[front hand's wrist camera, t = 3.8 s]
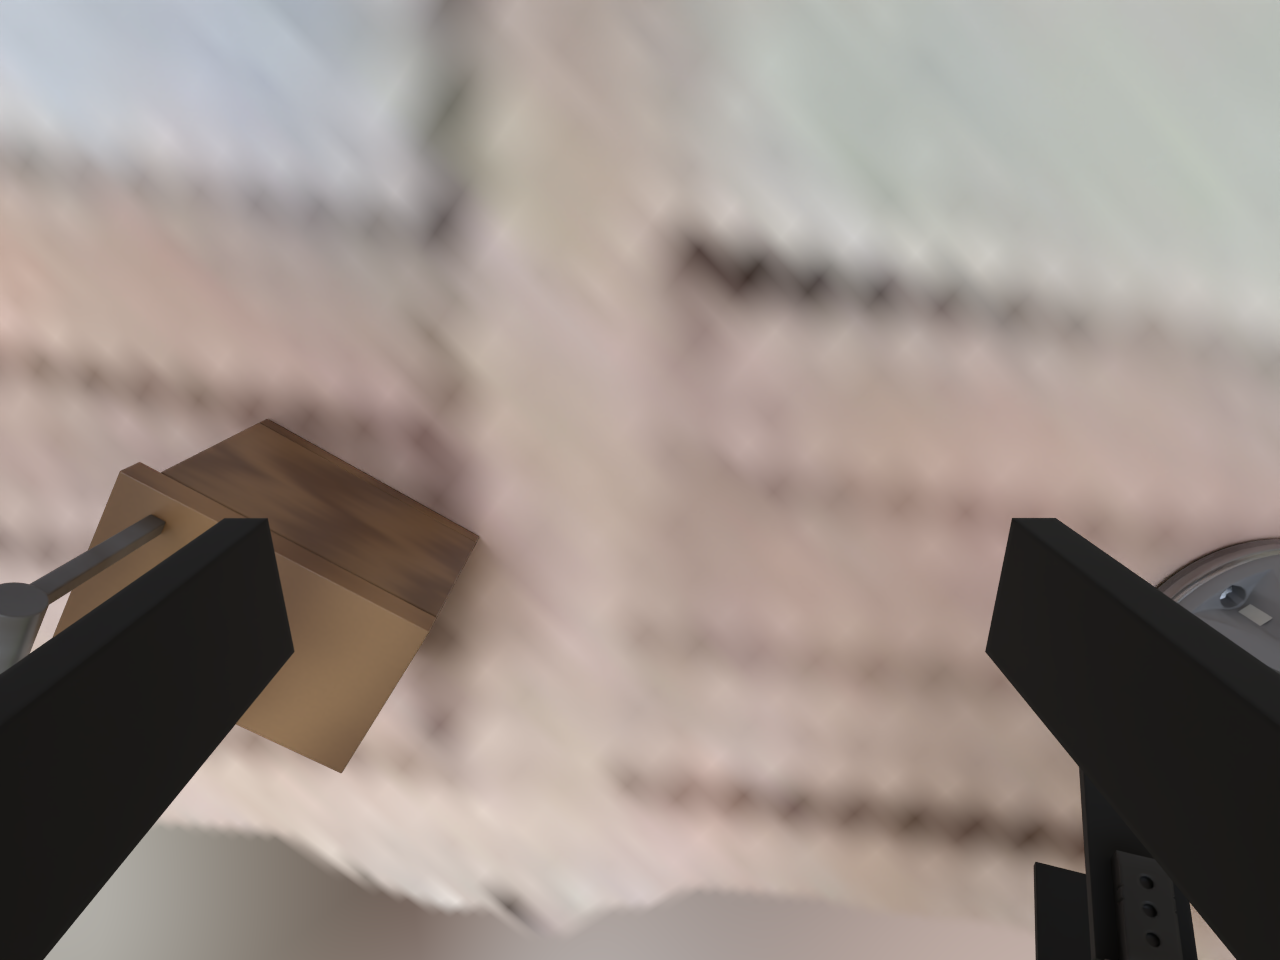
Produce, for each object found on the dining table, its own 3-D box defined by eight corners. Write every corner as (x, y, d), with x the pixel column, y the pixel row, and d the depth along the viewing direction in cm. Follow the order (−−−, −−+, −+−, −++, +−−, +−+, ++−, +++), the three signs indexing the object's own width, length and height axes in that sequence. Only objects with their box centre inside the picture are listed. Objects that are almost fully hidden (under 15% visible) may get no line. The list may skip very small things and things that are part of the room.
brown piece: (72, 624, 32) (-134, 767, 23) (139, 461, 29) (-66, 555, 21) (351, 756, 34) (256, 927, 26) (436, 617, 31) (362, 758, 23)
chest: (205, 549, 40) (92, 632, 32) (267, 418, 37) (160, 471, 29) (408, 653, 42) (351, 755, 34) (479, 536, 40) (437, 616, 32)
